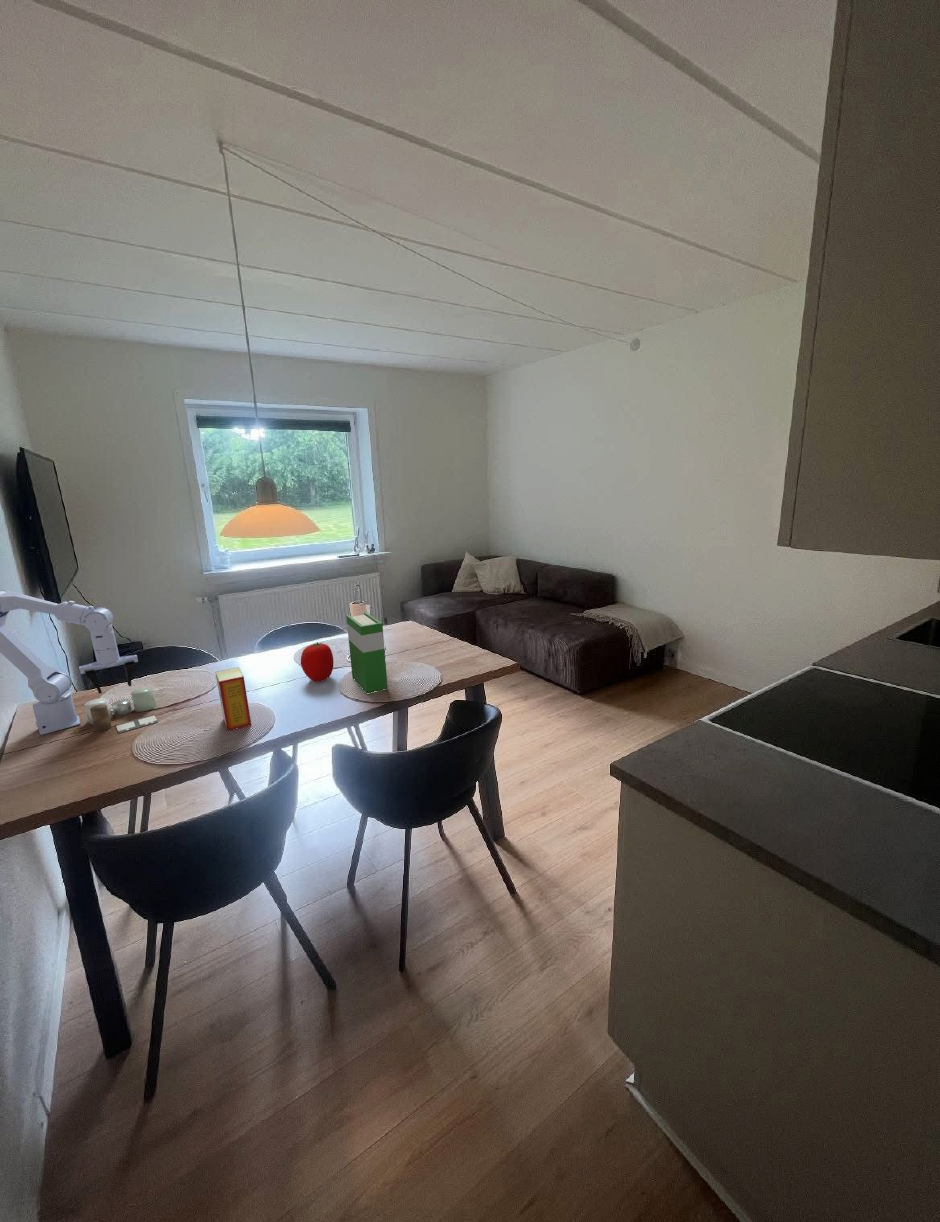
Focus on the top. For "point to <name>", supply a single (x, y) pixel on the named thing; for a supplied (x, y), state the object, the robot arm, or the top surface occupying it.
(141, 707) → the mug sage
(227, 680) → the baking soda box
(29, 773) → the top surface
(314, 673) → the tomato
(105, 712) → the walnut peg
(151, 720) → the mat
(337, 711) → the top surface
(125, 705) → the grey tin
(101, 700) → the mug white
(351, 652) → the hardback book
